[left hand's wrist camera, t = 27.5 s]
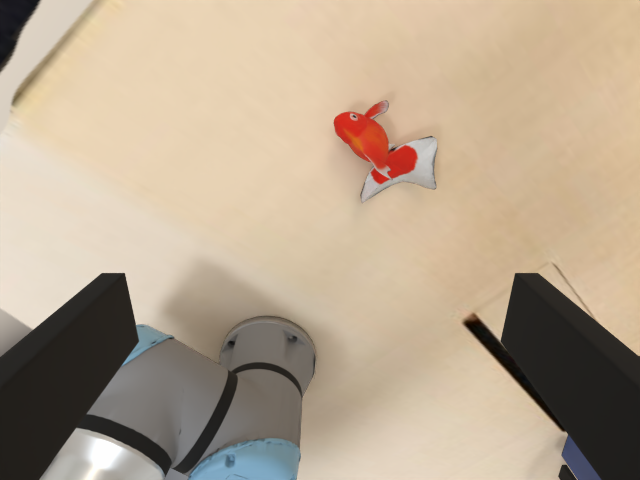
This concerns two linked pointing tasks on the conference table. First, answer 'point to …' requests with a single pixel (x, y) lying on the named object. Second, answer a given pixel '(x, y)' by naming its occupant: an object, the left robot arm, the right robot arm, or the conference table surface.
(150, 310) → the conference table surface
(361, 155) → the fish
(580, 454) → the brick
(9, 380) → the left robot arm
